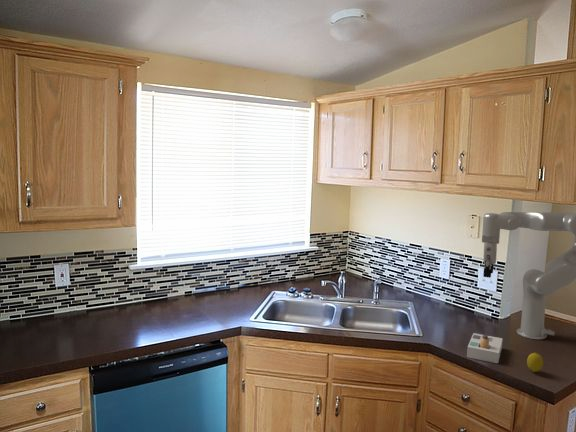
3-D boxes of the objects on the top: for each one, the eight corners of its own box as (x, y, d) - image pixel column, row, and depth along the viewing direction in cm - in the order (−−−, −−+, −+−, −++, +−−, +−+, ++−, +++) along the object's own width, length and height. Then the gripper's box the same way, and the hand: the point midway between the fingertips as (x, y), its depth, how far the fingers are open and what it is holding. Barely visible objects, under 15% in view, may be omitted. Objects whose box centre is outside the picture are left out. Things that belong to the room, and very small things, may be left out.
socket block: (501, 348, 201) (502, 338, 200) (498, 363, 185) (498, 352, 185) (472, 342, 207) (473, 332, 206) (466, 357, 191) (467, 346, 191)
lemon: (523, 368, 181) (525, 349, 180) (538, 369, 181) (540, 350, 180) (529, 375, 176) (531, 355, 175) (544, 375, 175) (546, 356, 174)
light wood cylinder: (488, 355, 193) (489, 335, 192) (487, 358, 190) (488, 337, 189) (480, 354, 194) (481, 333, 193) (479, 356, 192) (480, 336, 191)
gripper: (497, 243, 205) (495, 280, 207) (500, 237, 220) (498, 272, 222) (479, 241, 209) (477, 277, 211) (484, 236, 224) (481, 270, 226)
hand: (488, 274), depth 217 cm, fingers open, 9 cm apart
